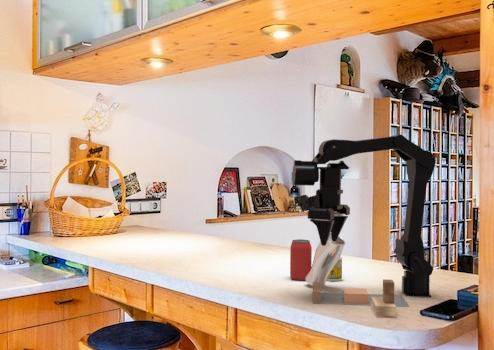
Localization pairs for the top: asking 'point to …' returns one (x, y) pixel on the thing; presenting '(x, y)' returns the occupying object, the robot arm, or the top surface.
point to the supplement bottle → (336, 272)
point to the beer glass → (325, 260)
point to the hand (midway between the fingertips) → (329, 243)
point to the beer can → (300, 259)
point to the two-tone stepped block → (385, 301)
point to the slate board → (338, 300)
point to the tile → (355, 295)
